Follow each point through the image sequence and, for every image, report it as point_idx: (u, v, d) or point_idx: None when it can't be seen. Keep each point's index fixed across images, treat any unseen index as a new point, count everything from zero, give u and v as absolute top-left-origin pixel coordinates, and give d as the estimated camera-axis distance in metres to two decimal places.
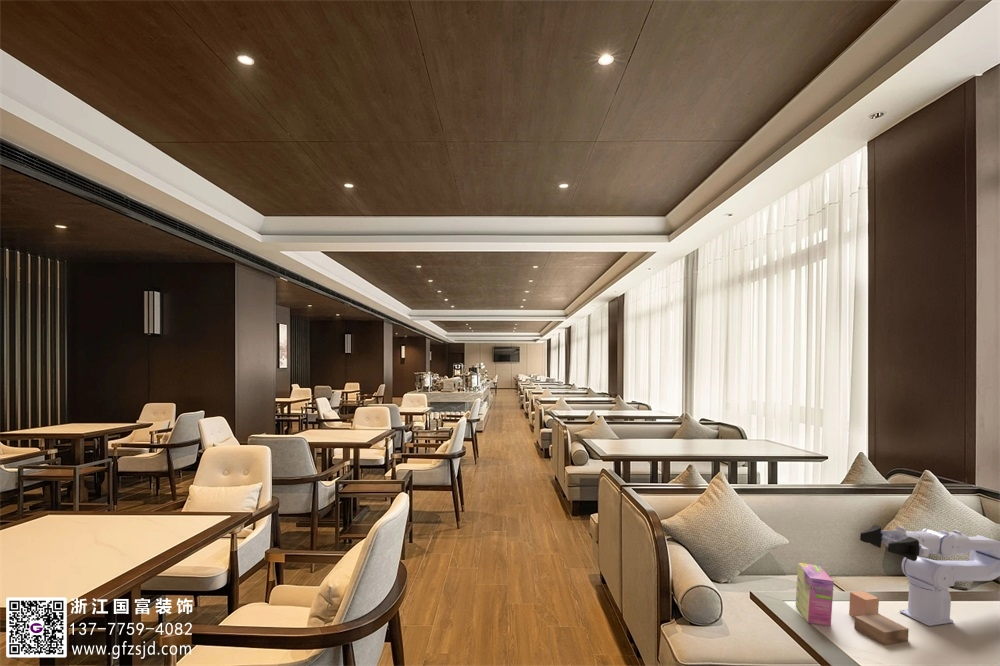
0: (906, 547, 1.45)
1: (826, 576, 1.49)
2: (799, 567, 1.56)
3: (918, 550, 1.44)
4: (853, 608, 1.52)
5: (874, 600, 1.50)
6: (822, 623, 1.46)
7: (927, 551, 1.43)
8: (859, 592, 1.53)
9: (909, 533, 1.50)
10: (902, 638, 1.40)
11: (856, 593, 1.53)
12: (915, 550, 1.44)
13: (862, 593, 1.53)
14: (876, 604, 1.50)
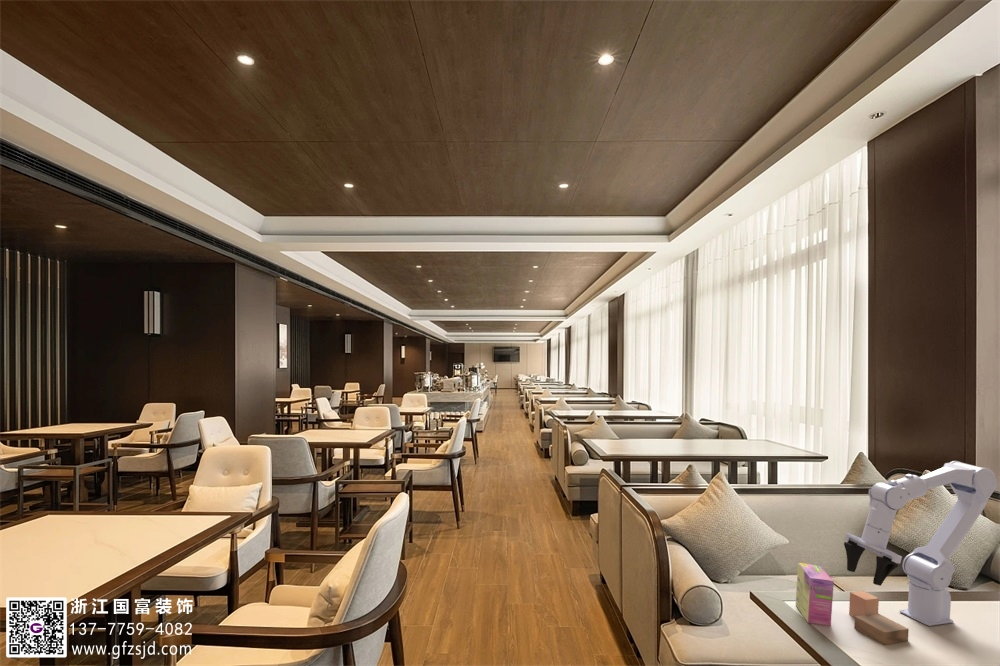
0: None
1: (826, 576, 1.49)
2: (799, 567, 1.56)
3: (892, 562, 1.45)
4: (853, 608, 1.52)
5: (874, 600, 1.50)
6: (822, 623, 1.46)
7: (898, 557, 1.44)
8: (859, 592, 1.53)
9: (870, 537, 1.50)
10: (902, 638, 1.40)
11: (856, 593, 1.53)
12: (891, 563, 1.46)
13: (862, 593, 1.53)
14: (876, 604, 1.50)
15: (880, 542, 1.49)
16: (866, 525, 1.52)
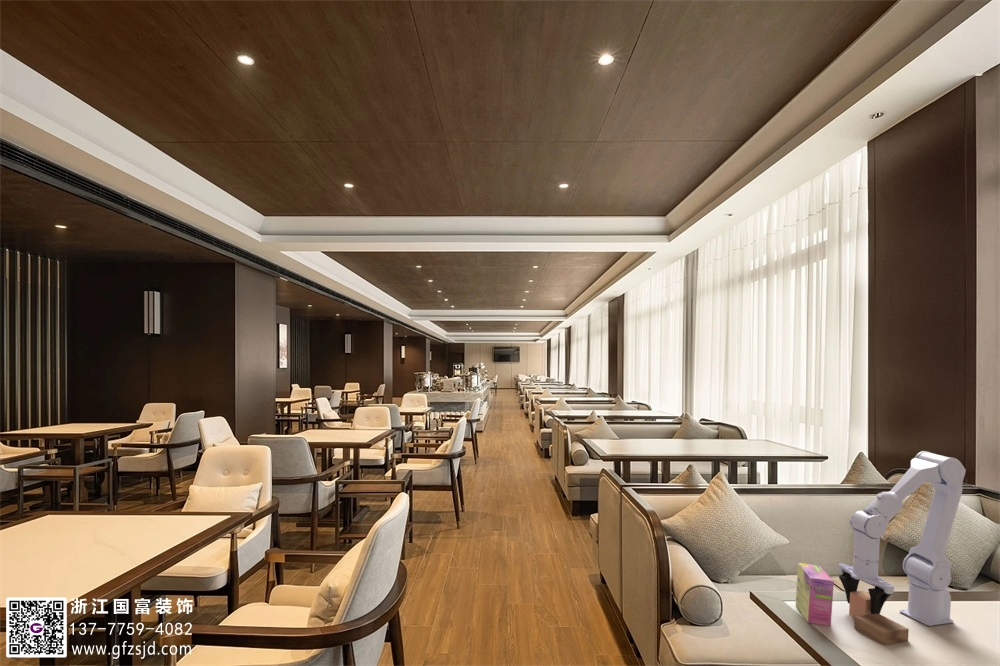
0: None
1: (826, 576, 1.49)
2: (799, 567, 1.56)
3: (884, 592, 1.46)
4: (853, 608, 1.52)
5: None
6: (822, 623, 1.46)
7: (890, 588, 1.45)
8: (859, 592, 1.53)
9: (860, 570, 1.50)
10: (902, 638, 1.40)
11: (856, 593, 1.53)
12: (883, 594, 1.47)
13: (862, 593, 1.53)
14: None
15: (870, 573, 1.49)
16: (854, 557, 1.52)
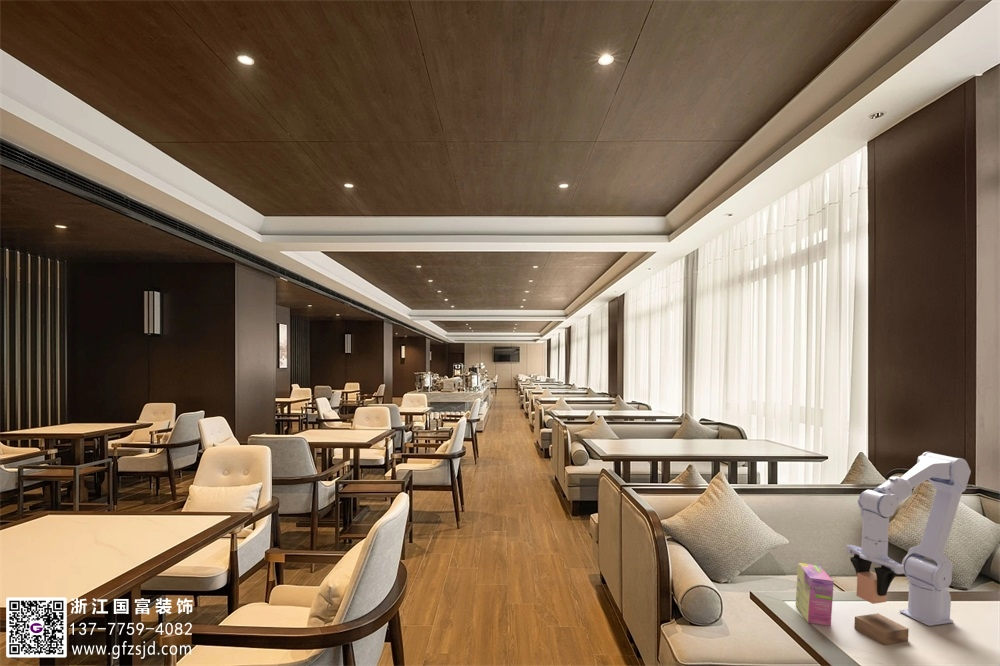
0: None
1: (826, 576, 1.49)
2: (799, 567, 1.56)
3: (891, 571, 1.43)
4: (861, 589, 1.48)
5: None
6: (822, 623, 1.46)
7: (900, 568, 1.41)
8: (867, 573, 1.49)
9: (869, 550, 1.46)
10: (902, 638, 1.40)
11: (864, 573, 1.48)
12: (890, 573, 1.43)
13: (869, 573, 1.49)
14: None
15: (879, 553, 1.45)
16: (863, 537, 1.48)
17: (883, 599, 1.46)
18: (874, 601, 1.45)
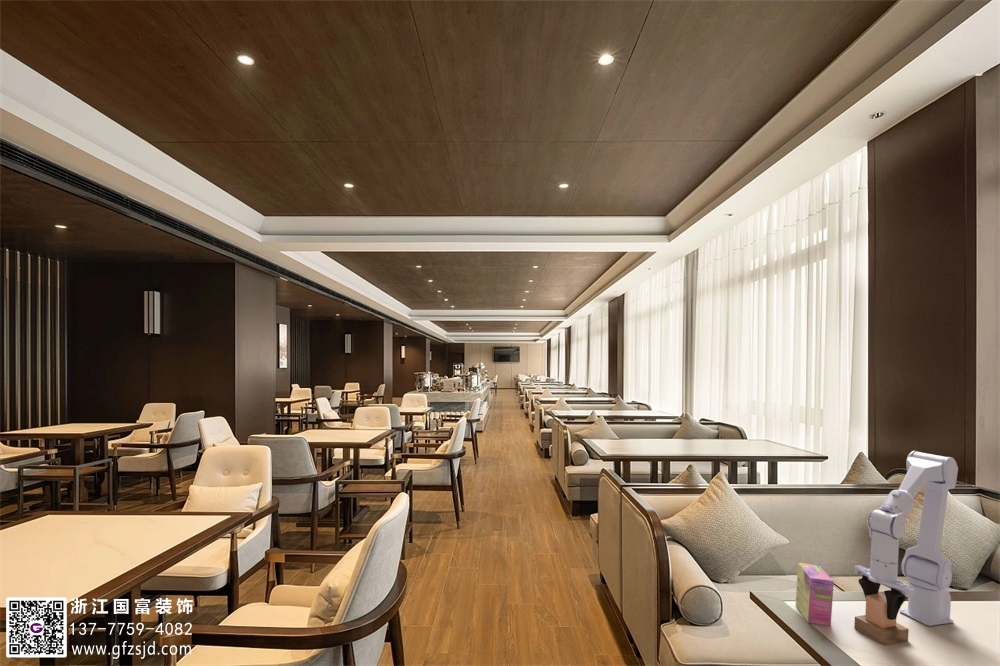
0: None
1: (826, 576, 1.49)
2: (799, 567, 1.56)
3: (901, 594, 1.38)
4: (870, 612, 1.43)
5: None
6: (822, 623, 1.46)
7: (911, 592, 1.36)
8: (876, 596, 1.44)
9: (879, 573, 1.41)
10: (902, 638, 1.40)
11: (873, 596, 1.44)
12: None
13: (879, 596, 1.44)
14: None
15: (889, 576, 1.40)
16: (871, 559, 1.43)
17: (893, 623, 1.41)
18: (884, 625, 1.40)
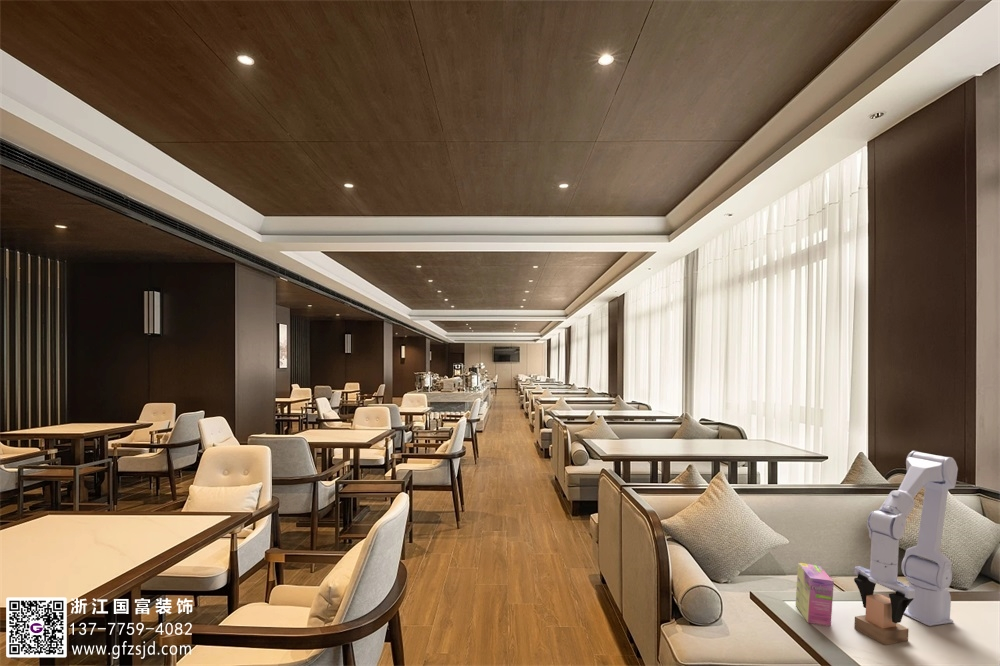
0: None
1: (826, 576, 1.49)
2: (799, 567, 1.56)
3: (906, 597, 1.37)
4: (870, 613, 1.43)
5: None
6: (822, 623, 1.46)
7: (911, 593, 1.36)
8: (876, 596, 1.44)
9: (879, 573, 1.41)
10: (902, 638, 1.40)
11: (873, 596, 1.44)
12: None
13: (879, 596, 1.44)
14: None
15: (889, 577, 1.40)
16: (871, 560, 1.43)
17: (893, 623, 1.41)
18: (884, 625, 1.40)
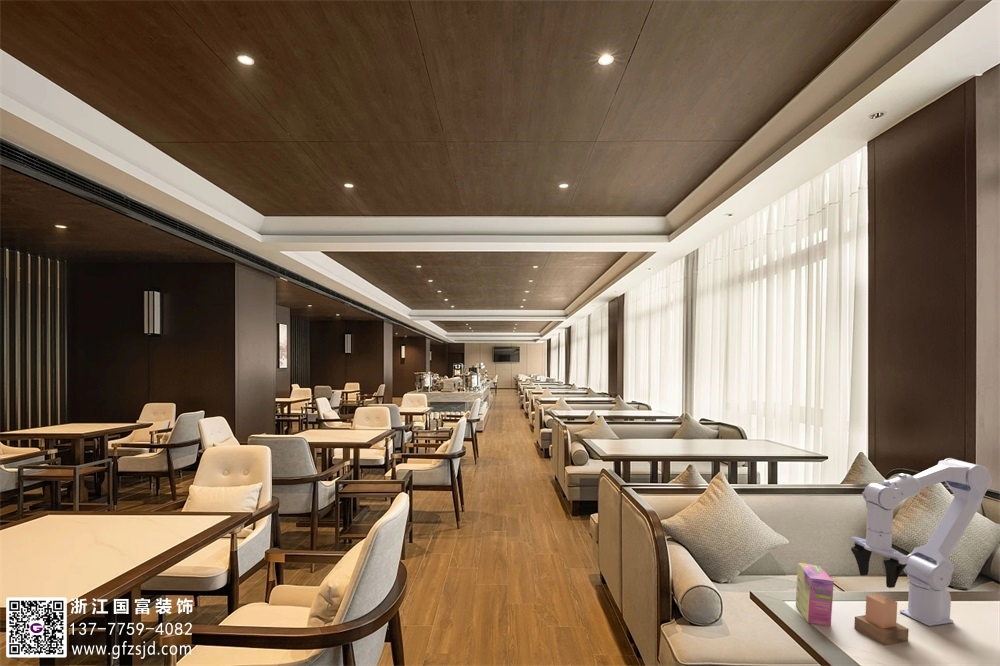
0: None
1: (826, 576, 1.49)
2: (799, 567, 1.56)
3: (900, 563, 1.46)
4: (870, 613, 1.43)
5: (892, 604, 1.41)
6: (822, 623, 1.46)
7: (904, 559, 1.45)
8: (876, 596, 1.44)
9: (874, 542, 1.50)
10: (902, 638, 1.40)
11: (873, 596, 1.44)
12: None
13: (879, 596, 1.44)
14: (894, 608, 1.41)
15: (884, 545, 1.49)
16: (867, 529, 1.52)
17: (893, 623, 1.41)
18: (884, 625, 1.40)
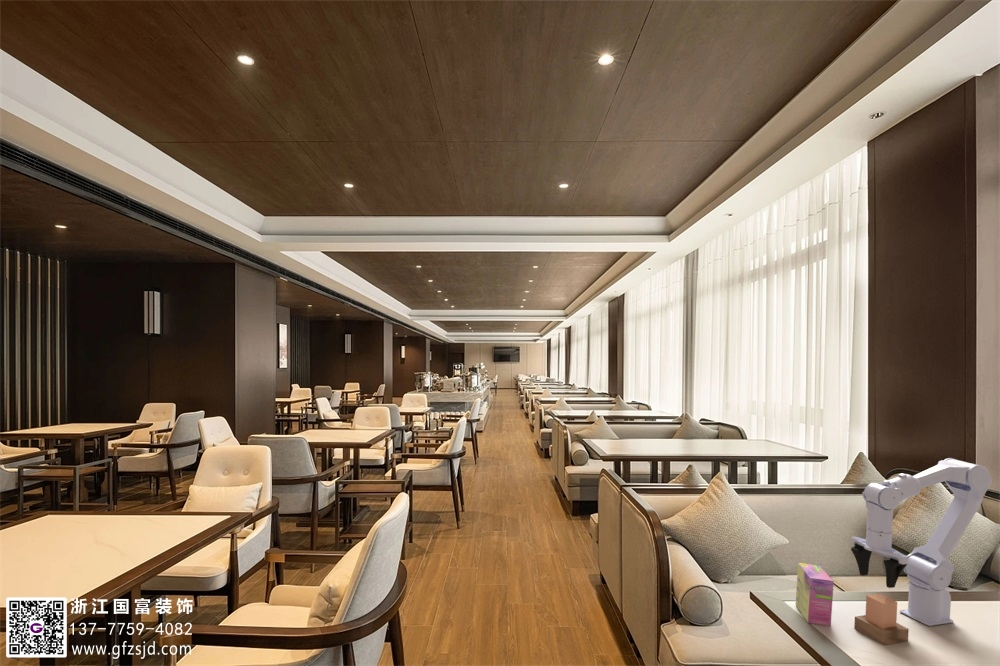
0: None
1: (826, 576, 1.49)
2: (799, 567, 1.56)
3: (900, 563, 1.46)
4: (870, 613, 1.43)
5: (892, 604, 1.41)
6: (822, 623, 1.46)
7: (904, 559, 1.45)
8: (876, 596, 1.44)
9: (874, 542, 1.50)
10: (902, 638, 1.40)
11: (873, 596, 1.44)
12: None
13: (879, 596, 1.44)
14: (894, 608, 1.41)
15: (884, 545, 1.49)
16: (867, 529, 1.52)
17: (893, 623, 1.41)
18: (884, 625, 1.40)
